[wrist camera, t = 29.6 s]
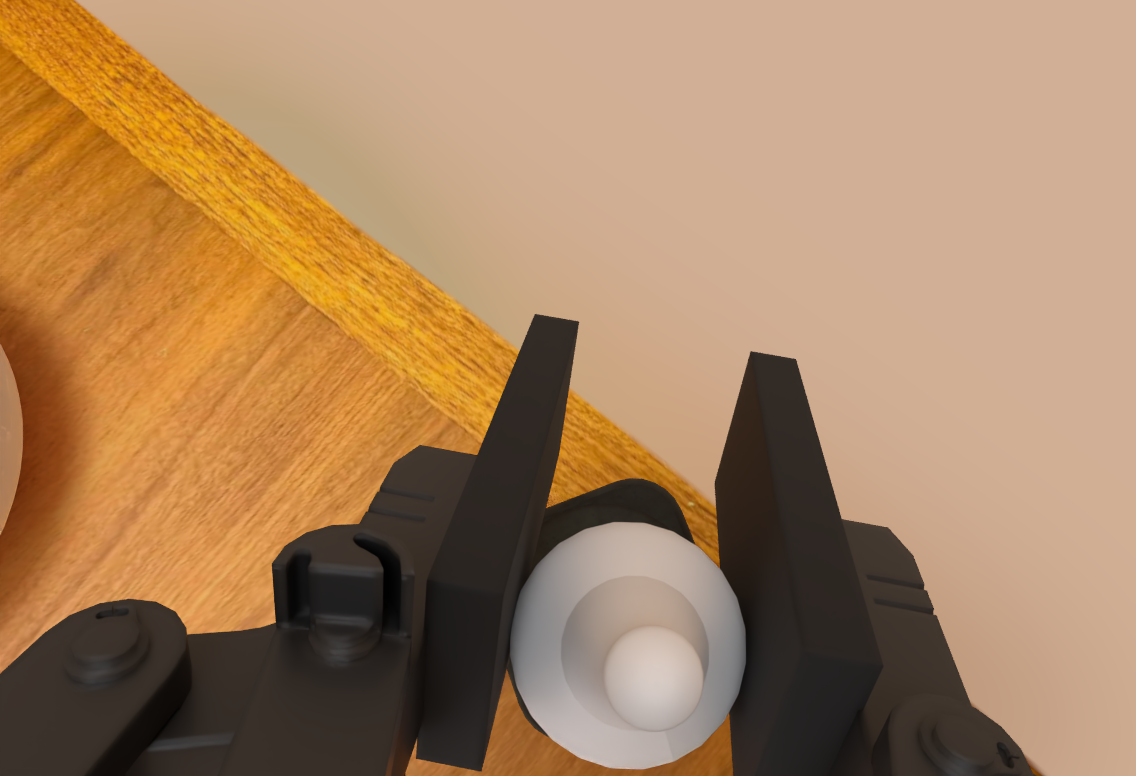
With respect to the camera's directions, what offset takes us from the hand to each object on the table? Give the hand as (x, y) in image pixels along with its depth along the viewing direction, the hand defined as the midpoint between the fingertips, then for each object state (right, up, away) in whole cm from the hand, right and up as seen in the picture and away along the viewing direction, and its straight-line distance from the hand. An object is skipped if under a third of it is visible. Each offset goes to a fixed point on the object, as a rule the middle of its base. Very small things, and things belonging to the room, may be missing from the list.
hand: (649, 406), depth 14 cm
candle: (-1, -7, +17) cm, 19 cm away
